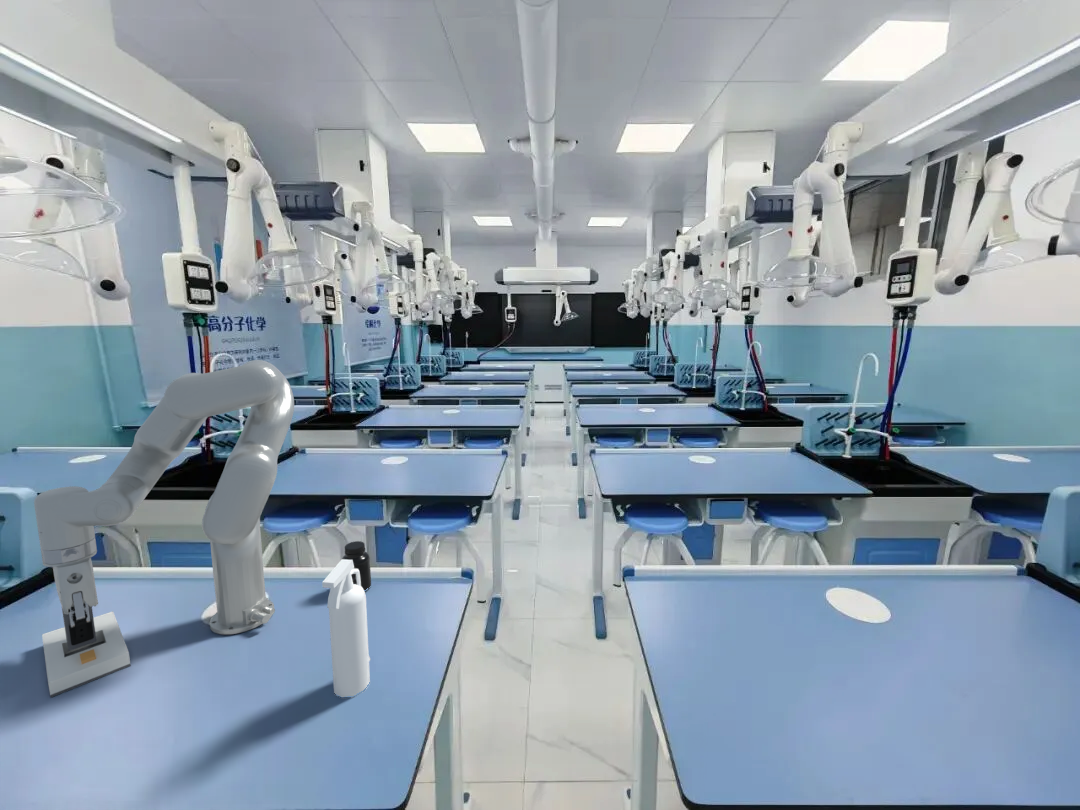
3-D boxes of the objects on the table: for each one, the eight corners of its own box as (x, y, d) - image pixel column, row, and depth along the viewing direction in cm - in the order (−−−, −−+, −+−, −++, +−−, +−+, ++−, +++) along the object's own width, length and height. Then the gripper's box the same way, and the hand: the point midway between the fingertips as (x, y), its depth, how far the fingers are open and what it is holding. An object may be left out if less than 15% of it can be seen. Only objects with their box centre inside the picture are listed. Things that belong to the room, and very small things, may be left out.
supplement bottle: (347, 581, 124) (345, 539, 123) (374, 581, 125) (372, 538, 123) (339, 596, 118) (336, 551, 116) (367, 595, 118) (364, 550, 116)
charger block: (96, 641, 95) (91, 604, 93) (68, 651, 92) (63, 613, 90) (94, 632, 97) (89, 597, 96) (66, 641, 94) (61, 605, 93)
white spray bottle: (386, 659, 95) (376, 545, 90) (356, 709, 83) (343, 580, 78) (355, 657, 96) (343, 544, 91) (321, 705, 84) (306, 578, 79)
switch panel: (130, 665, 93) (128, 649, 92) (50, 697, 84) (47, 679, 84) (114, 623, 106) (112, 608, 105) (44, 647, 98) (41, 631, 97)
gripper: (101, 558, 89) (112, 646, 92) (90, 532, 100) (101, 611, 102) (44, 572, 83) (58, 666, 86) (39, 543, 94) (51, 627, 97)
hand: (81, 635), depth 94 cm, fingers closed on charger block, 4 cm apart
